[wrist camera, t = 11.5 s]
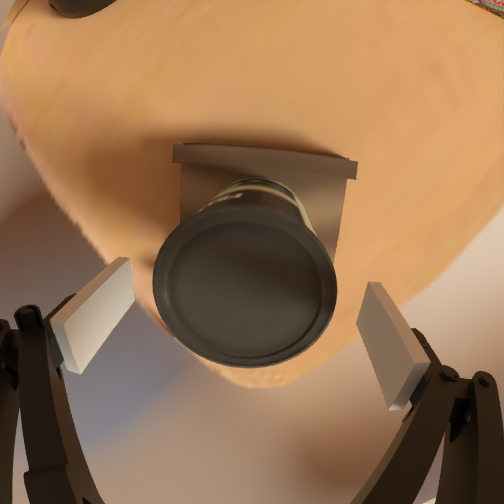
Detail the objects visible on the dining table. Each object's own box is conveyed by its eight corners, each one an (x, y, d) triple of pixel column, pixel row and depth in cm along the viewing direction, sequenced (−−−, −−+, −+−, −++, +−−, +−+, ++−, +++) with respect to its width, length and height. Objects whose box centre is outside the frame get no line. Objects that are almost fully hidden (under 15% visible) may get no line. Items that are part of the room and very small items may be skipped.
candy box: (448, -4, 18) (479, -25, 10) (443, -15, 17) (473, -37, 10) (521, 32, 17) (553, 24, 9) (518, 21, 16) (548, 12, 8)
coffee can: (184, 227, 29) (120, 290, 16) (257, 154, 26) (242, 159, 13) (254, 294, 31) (242, 391, 18) (329, 232, 28) (373, 303, 15)
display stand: (189, 143, 28) (173, 142, 23) (344, 157, 28) (358, 159, 23) (185, 283, 34) (173, 305, 29) (321, 297, 33) (328, 321, 28)
